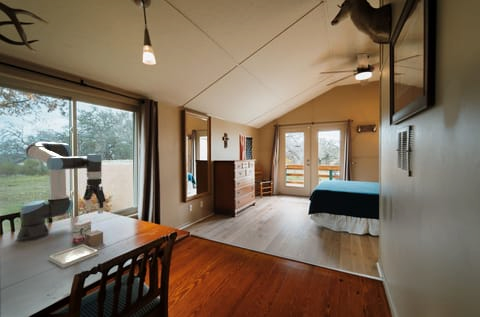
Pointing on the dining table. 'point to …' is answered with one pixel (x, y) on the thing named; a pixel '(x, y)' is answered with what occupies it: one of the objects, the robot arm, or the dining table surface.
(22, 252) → the dining table surface
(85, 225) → the ink box
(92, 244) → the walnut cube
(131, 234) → the dining table surface
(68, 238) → the dining table surface
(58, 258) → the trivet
